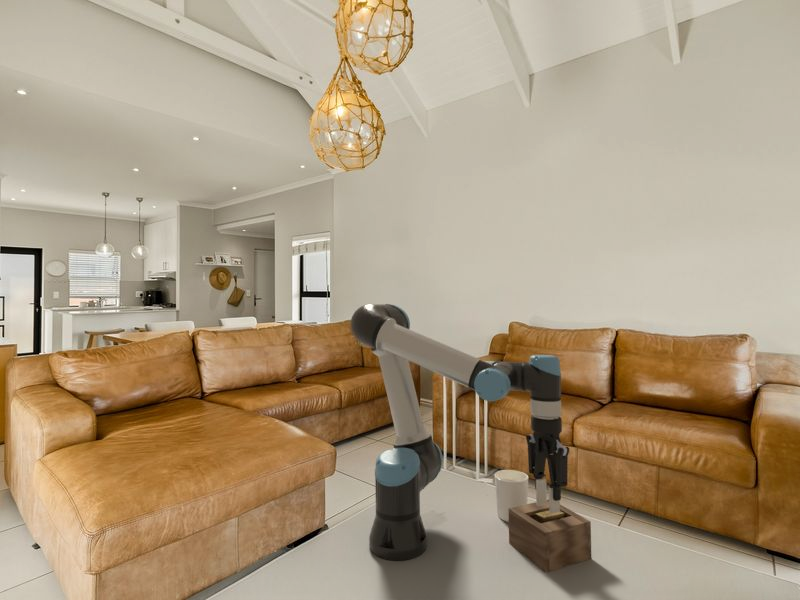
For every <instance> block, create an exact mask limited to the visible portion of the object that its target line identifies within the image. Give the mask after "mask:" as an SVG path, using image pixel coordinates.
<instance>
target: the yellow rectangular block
mask: <svg viewBox="0 0 800 600" xmlns="http://www.w3.org/2000/svg"><path fill="white" fill-rule="evenodd" d="M562 518H565V513H563V512H561V511H560V512H557V513H552V514H551V513H549V511H545V512H540V513H536V514H535V520H536V521H537V522H539V523H540V524H541V523H545V522H549V521H553V520H557V519H562Z"/></svg>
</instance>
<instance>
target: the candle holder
mask: <svg viewBox="0 0 800 600" xmlns="http://www.w3.org/2000/svg"><path fill="white" fill-rule="evenodd" d="M493 476H494V483H495V496H496V497H495V498H496V509H497V516H498V518H499V519H500V520H502V521H504V522H507V523H509V508H512V507H517V506H521V505H526V504H528V494H529V493H528V492H529V491H528V490H529V475H528V474H527V473H525V472H523V471H520V470H517V469H501V470H498V471H496V472H495V473H494V475H493Z"/></svg>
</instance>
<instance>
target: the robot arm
mask: <svg viewBox="0 0 800 600" xmlns="http://www.w3.org/2000/svg"><path fill="white" fill-rule="evenodd" d="M410 328H411V321H410V318H409V316H408V313H406V311H405V310H403V308H401V307H399V306H396V305H395V304H389V303H386V304H384V303H383V304H376V303H368V304H364V305H362V306H360V307H358V308H357V309H356V310H355V311H354V313H353V315H352V316H351V318H350V331H351V333H352V335H353V337H354V338H355V339H356V340H357V341H358V342H359V343H361V344H362V345H364V346H367V347H369V348H370V349H371V353H372V354H374V356H377V358H378V361H379V366H380V370H381V375H382V378H383V383H384V388H385V392H386V395H387V399H388V404H389V405H388V406H389V408H390V413H391V418H392V422H393V427H394V431H395V434H396V436H395V438H394V440H393V442H392V445H393V448H392V449H387V450H385V451H383V452H382V453H380V454H378V456H377V458H376V461H375V468H374V479H375V481H374V482H375V486H374V487H375V489H374V490H375V516H374V520H373V524H372V525H371V528H370V529H371V530H370V533H369V537H368V542H369V544H368V545H369V550H370V551H371V553H373V555H375V556H377V557H379V558H381V559H385V560H390V561H404V560H405V561H406V560H410V559H413V558H416V557H419V556H420V555H422V554H423V553H424V552H425V551H426V549H427V547H428V535H427V532H426V529H425V525H424V522H423V520H422V519H423V518H422V516H421V501H420V500H421V495H420V494H421V492H422V491H423V490H424V489H425V488H426V487H427V486H429V484H430V483H432V482H433V481H434V480H435V479H436V478H437V477H438V475H439V473H440V472H441V470H442V467H443V463H444V462H443V461H444V458H443V452H442V451H441V450H442V449H441V448H440V447H439V445H438V444H436V443H435V442H434V440H433V437H432V433H431V432H430V431H428V430H427V429H425V425H424V420H423V417H422V413H421V407H420V404H419V399H418V395H417V391H416V386H415V383H414V379H413V374H412V371H411V366H410V363H409V362H411V363H414V364H415V365H417V366H419V367H422V368H424V369H427V370H429V371H431V372H434V373H435V374H438V375H440V376H442V377H444V378H446V379H449V380H450V381H452V382H455V383H457V384H460V385H462V386H464V387H467V388H468V389H471V390H473V391H474V392H476V394H477V396H479V398H480V399H482V400H484V401H487V402H496V401H499V400H501V399H504V398H505V397H507V395H508V394H509V393H510V392H511V391H515V392H516V391H518V392H529V393H530V399H529V400H530V404H529V405H530V408H529V411H530V414H531V416H530V430H531V431H532V432H533V434H527V435H526V436H525V439H526V443H527V458H528V472H529V474H530V475H533V478H534V488H535V493H536V497H535V498H536V501H535V502H536V504H537V505H538V506H541V505H546V504H547V500H549V513H551V514H552V513H557V512H560V505H561V504H560V503H561V502H560V501H561V500H562V492H561V491H562V490H561V488H563V487H567V486H568V466H569V465H568V462H569V461H568V460H569V459H568V457H569V453H570V448H569V446H564V445H563V444H562V442H561V439H560V435H561V433H562V431H563V424H562V423H563V422H562V420H563V419H562V418H561V416H562V373H561V360H560V358H559V357H558V356H556V355H552V354H532V355H530V357H529V360H528V361H527V362H525V361H524V362H522V361H521V362H519V361H517V362H516V361H501V360H494V361H491V360H490V361H484V360H481V359H480V358H478V357H475V356H473V355H471V354H468V353H466V352H463V351H461V350H459V349H456V348H454V347H452V346H450V345H447V344H444V343H442V342H440V341H437V340H435V339H433V338H430V337H429V336H426V335H424V334H421V333H419V332H416V331H414V330H411V329H410ZM546 461H547V466H548V467H547V468H548V473H549V474H548V475H549V478H550V479H549V480H550V484H549V485H548V492H547V478H546V477H547V475H546V474H545V470H546V469H545V468H546ZM547 494H548V495H547ZM547 496H548V497H547ZM547 498H548V499H547Z"/></svg>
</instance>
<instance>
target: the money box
mask: <svg viewBox="0 0 800 600" xmlns="http://www.w3.org/2000/svg"><path fill="white" fill-rule="evenodd" d="M545 511H549V499H547V504H546V505H541V506H538V505H537V504H536V501H535V502H531V503H527V504H526V505H521V506H517V507H512V508H509V522H508V543H509V544H510V545H511V546H512V547H513V548H515V549H516V550H518V551H519V552H520V554H522V555H524V556H525V557H526V558H528V559H529V560H530V561H531V562H533V563H534V564H535V565H537V566H538V567H539V568H540V569H541V570H543V571H544V572H545V573H549V572H551V571H554V570H558V569H563V568H565V567H568V566H571V565H574V564H575V565H576V564H578V563H581V562H585V561H588V560H592V558H593V557H592V526H591V524H592V523H591V520H589V519H587V518H585V517H584V516H582V515H581V514H578V513H576V512H575V511H572V510H571V509H570V508H567V507H565V506H563V505H562V504H560V511H561V512H563V513H565V518H562V519H557V520H553V521H549V522H545V523H541V524H540V523H539V522H537V521H536V520H535V514H536V513H540V512H545Z"/></svg>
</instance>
